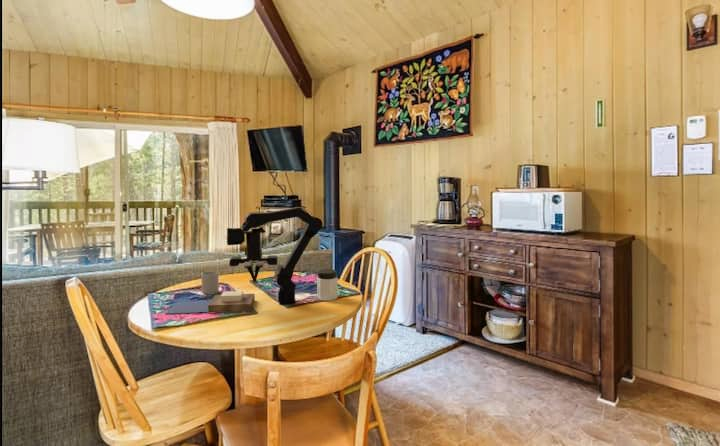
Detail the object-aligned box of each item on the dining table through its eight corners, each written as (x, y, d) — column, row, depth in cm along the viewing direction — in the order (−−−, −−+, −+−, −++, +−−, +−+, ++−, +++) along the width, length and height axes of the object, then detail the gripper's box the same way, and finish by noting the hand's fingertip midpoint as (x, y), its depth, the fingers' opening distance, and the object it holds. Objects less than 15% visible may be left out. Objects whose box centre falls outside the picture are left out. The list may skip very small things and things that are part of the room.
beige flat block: (243, 296, 176) (243, 291, 176) (241, 301, 170) (241, 295, 170) (223, 297, 175) (223, 291, 175) (220, 301, 169) (220, 296, 169)
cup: (205, 295, 188) (204, 275, 187) (197, 290, 195) (196, 271, 194) (221, 292, 193) (220, 273, 191) (212, 287, 200) (212, 269, 199)
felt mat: (215, 301, 179) (215, 300, 179) (208, 312, 165) (208, 311, 165) (176, 303, 177) (176, 302, 177) (165, 314, 163) (165, 313, 163)
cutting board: (254, 300, 181) (254, 293, 181) (250, 311, 167) (250, 303, 167) (215, 301, 179) (215, 294, 179) (208, 312, 165) (208, 305, 165)
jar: (315, 296, 188) (315, 269, 186) (332, 294, 191) (332, 268, 189) (321, 302, 179) (321, 274, 178) (339, 299, 183) (339, 272, 181)
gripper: (278, 240, 180) (279, 275, 182) (233, 240, 178) (234, 277, 180) (276, 244, 169) (277, 282, 171) (228, 245, 167) (229, 284, 169)
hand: (254, 281), depth 173 cm, fingers closed
